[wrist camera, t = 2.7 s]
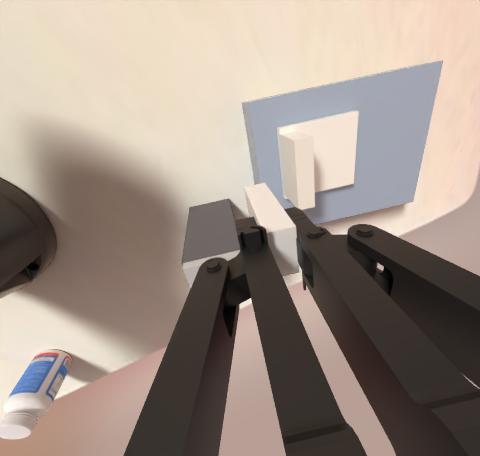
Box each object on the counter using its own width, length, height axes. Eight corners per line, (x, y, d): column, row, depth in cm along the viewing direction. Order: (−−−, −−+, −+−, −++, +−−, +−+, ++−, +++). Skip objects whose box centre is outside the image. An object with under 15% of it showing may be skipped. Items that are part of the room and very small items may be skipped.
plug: (198, 234, 30) (195, 303, 20) (189, 207, 28) (180, 268, 18) (235, 225, 30) (250, 290, 20) (228, 198, 28) (242, 254, 18)
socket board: (260, 220, 30) (267, 235, 27) (242, 102, 23) (248, 102, 20) (389, 190, 31) (412, 201, 27) (408, 66, 24) (443, 60, 20)
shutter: (283, 196, 25) (299, 215, 20) (276, 127, 21) (293, 133, 17) (349, 181, 25) (378, 197, 21) (353, 110, 21) (389, 112, 17)
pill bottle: (28, 360, 37) (-24, 436, 29) (47, 343, 36) (-2, 418, 28) (61, 372, 40) (22, 445, 31) (80, 356, 38) (45, 428, 30)
